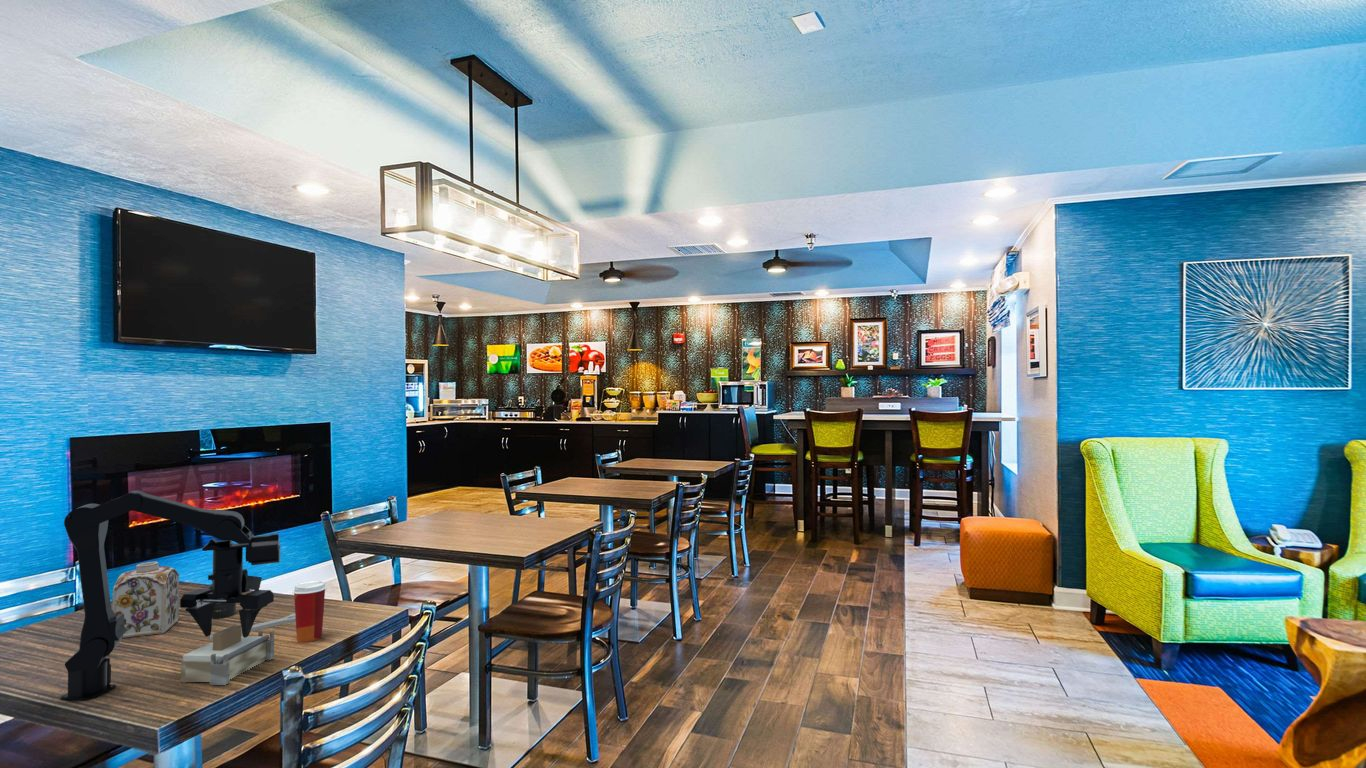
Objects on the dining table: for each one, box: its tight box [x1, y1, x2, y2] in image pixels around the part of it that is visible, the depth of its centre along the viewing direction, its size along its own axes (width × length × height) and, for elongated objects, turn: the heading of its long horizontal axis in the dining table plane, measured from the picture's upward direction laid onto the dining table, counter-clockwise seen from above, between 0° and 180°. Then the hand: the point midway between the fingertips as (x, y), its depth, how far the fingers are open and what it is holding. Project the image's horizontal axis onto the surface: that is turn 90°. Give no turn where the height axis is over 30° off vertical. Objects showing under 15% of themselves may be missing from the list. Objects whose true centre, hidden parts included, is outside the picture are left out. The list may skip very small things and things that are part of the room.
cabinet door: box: [182, 624, 270, 664], centre depth 152 cm, size 15×10×5 cm
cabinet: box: [180, 630, 275, 686], centre depth 152 cm, size 15×11×6 cm
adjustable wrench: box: [209, 613, 296, 641], centre depth 182 cm, size 25×6×2 cm, turn 133°
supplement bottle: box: [207, 580, 237, 619], centre depth 192 cm, size 7×7×12 cm
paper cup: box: [292, 580, 327, 644], centre depth 172 cm, size 8×8×14 cm
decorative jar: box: [111, 561, 180, 639], centre depth 180 cm, size 12×12×18 cm
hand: (227, 636), depth 152 cm, fingers open, 9 cm apart
